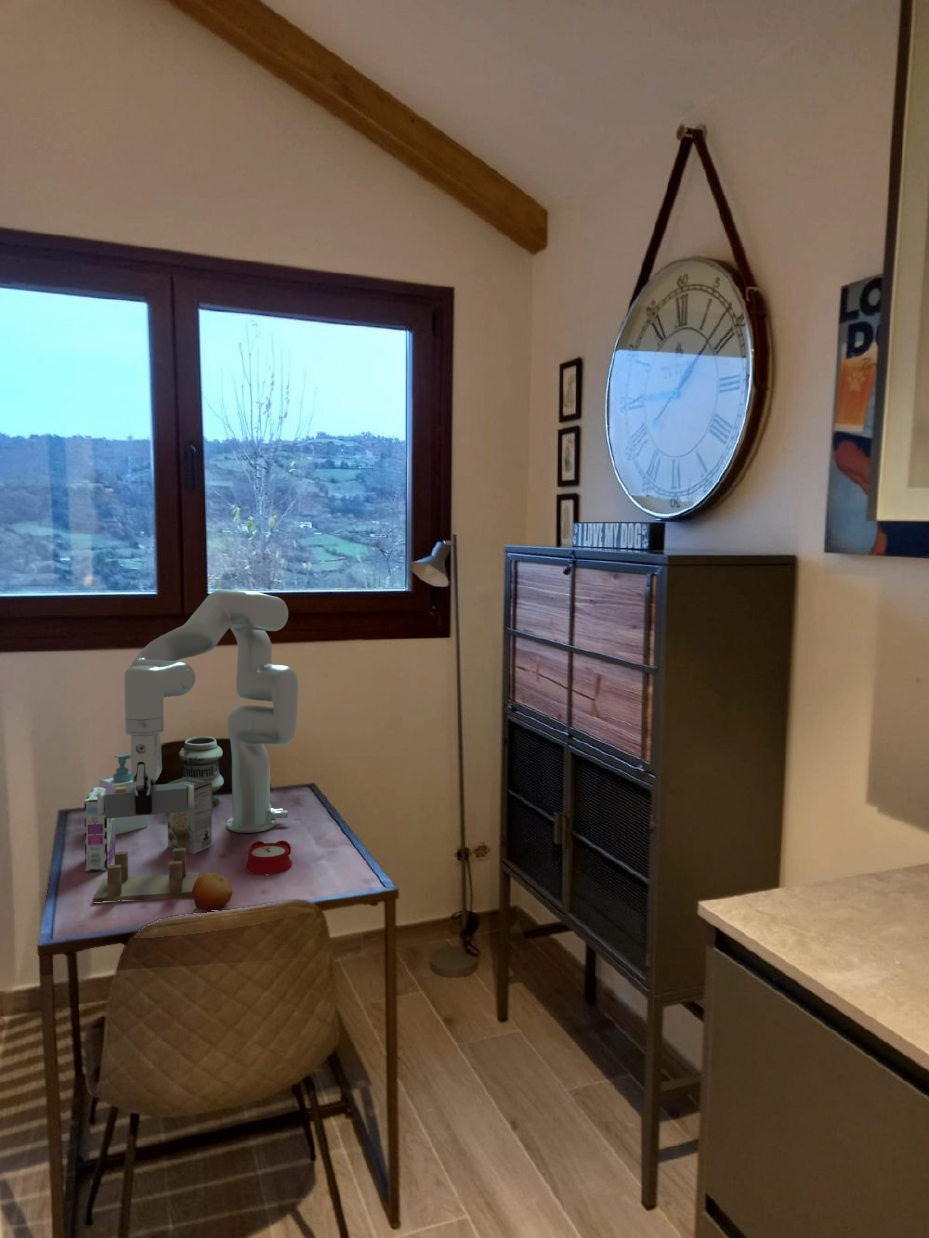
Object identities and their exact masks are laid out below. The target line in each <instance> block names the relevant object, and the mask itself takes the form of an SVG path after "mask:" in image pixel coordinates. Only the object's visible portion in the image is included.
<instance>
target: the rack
mask: <svg viewBox="0 0 929 1238" xmlns="http://www.w3.org/2000/svg"><path fill="white" fill-rule="evenodd" d="M128 854H129V853H128V850H126V851H115V854H114V856H113V859H114V860H113V861H114V864H110V865H109V866H108V868H107V870H106V871H107V873H106V874H107V878H103V879H102V880H101V882H100V884H99V885H98V887H97V890H96V892H95V894H94V896H93V898H92V901H93V902H103V901H118V900H120V901H122V900H143V901H152V900H153V901H155V900H156V901H157V900H168V899H171V900H172V899H185V898H193V895H192V889H193V886H194V884H195V882H196V880H197V879H198V878H199V877H200V876H201V875H200V873H201V872H188V873H187V858H186V857H187V856H186V855H187V852H186V848H173V851H172V854H173V861H169V863H168V874H161V875H143V876H131V877H130V876H129V859H128V858H129V857H128V856H129V855H128ZM93 902H92V903H93Z"/></svg>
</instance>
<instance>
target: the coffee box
mask: <svg viewBox="0 0 929 1238" xmlns="http://www.w3.org/2000/svg"><path fill="white" fill-rule="evenodd" d="M182 777H183V776H182ZM182 777H181V778H178V779H176V780H172V781H168V782H167V783H166V784H175V783H186V786H187V811H186V812H175V813H167V847H168V848H171V849H175V848H186V853H190V854H193V855H194V854H196V853H199V852H202V851H204V850H206V849H208V848H211V847H212V846H213V806H212V796H213V793H212V783H211V782H206V781H202V780H198V779H194V778H190V777H183V778H182ZM188 785H194V808H188Z"/></svg>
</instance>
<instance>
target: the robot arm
mask: <svg viewBox="0 0 929 1238" xmlns="http://www.w3.org/2000/svg"><path fill="white" fill-rule="evenodd" d="M288 618H289V609H288V606H287V604H286V602H285V600H283V599H281V598H280V597H278V596H273V595H269V594H265V593H261V592H257V591H251V590H240V589H239V590H235V589H219V590H215V591H213V592H211V593H210V594H208V595H207V597H206V598H204V600H203V601H202V602H201V604H200V605H199V606H198V608H196V610H195V611H194V612H193V614H192V615H190V617H189V619H188V620H187V621H186V622H185V623H184V624H183V625H181V626H179V627H176V628H175V629H172V630H170V631H168V632H167V633H165V634H162V635H160V636H159V637H157V638H155V639H153V640H152V641H150V642H149V643H148V644H147V645H146V646H145V647H144V648H143V649H142V650H141V651H140V652H139V653H138V654H137V656H136V657H135V658H134V660H133V661H132V662H131V664H130V666H129V667H128V668H127V669H126V670H125V672H124V678H123V679H124V680H123V681H124V711H125V713H124V714H125V715H124V716H125V718H124V720H125V721H124V722H125V723H124V725H125V726H124V727H125V735H128V736H130V753H131V758H130V772H131V778H132V781H133V782H136V793H135V813H136V814H137V815H140V814H151V813H152V795H150V785H156V781H157V780H158V778H159V777H160V774H161V773H162V772H163V771H162V770H163V761H162V760H163V759H162V740H161V733H163V732H164V731H165V730H164V729H165V727H164V724H165V723H164V698H169V697H181V696H184V695H186V694H188V693H189V692H190V691H191V690H192V688H193V687H194V685H195V682H196V673H195V670H194V669H193V668H192V666H190V664H189V663H186V662H183V661H179V660H183V659H187V658H193V657H196V656H199V655H203V654H206V653H208V652H211V651H212V650H213V649H215V647H217V645H218V643H219V642H220V641H221V640H222V638H223V636H224V635H225V634H226V633H227V631H228V630H229V629H230V630H231V632H232V633H233V635H234V637H235V640H236V643H237V664H236V666H237V667H236V681H235V682H236V683H235V685H236V686H235V689H236V692H237V695H238V696H239V697H240V698H242V699H244V700H249V701H256V702H257V701H258V702H270V703H272V706H273V707H271V706H266V705H252V704H251V705H250V704H249V705H247V704H245V705H239V706H236V707H235V708H234V709H232V710H231V711H230V712H229V715H228V717H227V732H228V737H229V743H230V749H231V752H230V753H231V789H232V790H231V791H232V792H231V794H232V795H231V799H232V800H231V801H232V804H231V805H232V806H231V807H232V817H230V818H229V819H228V820H227V821H226V826H225V827H226V829H228V830H229V831H231V832H235V833H241V834H242V833H243V834H248V833H249V834H251V833H252V834H253V833H260V832H265V831H267V830H271V829H273V828H274V827H275V826H276V825H277V819H279V818H280V819H288V810H283V809H284V808H278V809H277V808H272V803H271V782H270V781H271V774H270V772H271V771H270V770H271V767H270V766H271V762H270V755H269V752H268V749H267V748H266V746H265V745H267V746H269V745H271V746H286V745H289V744H290V743H291V742H292V741H293V739H294V736H295V734H296V728H297V717H298V716H297V713H298V697H299V680H298V676H297V673H296V671H295V670H294V669H293V668H291V667H290V666H287V665H282V664H273V663H272V653H273V652H272V651H273V650H272V647H273V646H272V642H271V640H270V639H271V638H270V637H269V635H268V634H267V631H268V632H277V631H280V630H281V629H283V628H284V627H285V625H286V624H287V622H288ZM144 778H145V779H144ZM146 786H147V787H146Z"/></svg>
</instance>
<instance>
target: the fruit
mask: <svg viewBox="0 0 929 1238" xmlns="http://www.w3.org/2000/svg"><path fill="white" fill-rule="evenodd" d="M192 895H193V897H192V898H193V903H194V904H193V905H194V907H195V908H194V910H193V911H192V912H193V913H195V912H196V911H198V910H202V911H203V912H212V911H211V910H220V911H221V910H223V909H224V908H225V907H226V906H227V904H228V903H229V902H230V900H232V899H231V898H232V897H233V889H232V887H231V884H230V882H229V880H228V879H227V878H226V877H225V876H223V875H221V874H219V873H216V872H213V873H212V872H205V873H203V874H201V875H200V877H199V878H198V879H197V880H196V882H195V884H194V886H193V889H192Z"/></svg>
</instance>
